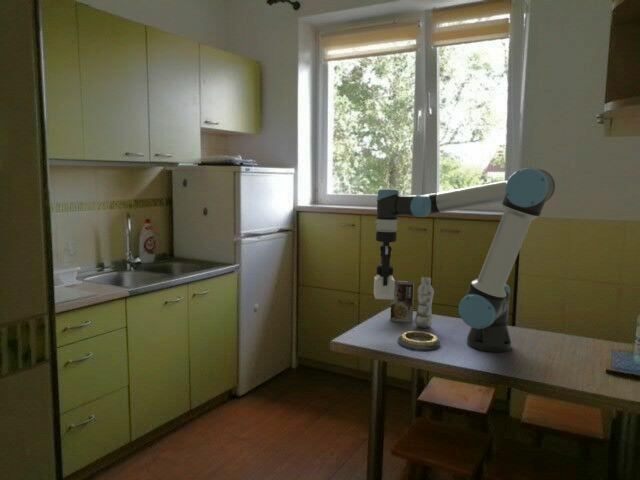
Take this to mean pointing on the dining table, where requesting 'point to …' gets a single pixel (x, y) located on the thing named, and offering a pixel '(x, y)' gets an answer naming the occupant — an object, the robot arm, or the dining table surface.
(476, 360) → the dining table surface
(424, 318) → the plastic bottle
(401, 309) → the coffee box
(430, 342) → the ring
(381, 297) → the medicine bottle
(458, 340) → the dining table surface
